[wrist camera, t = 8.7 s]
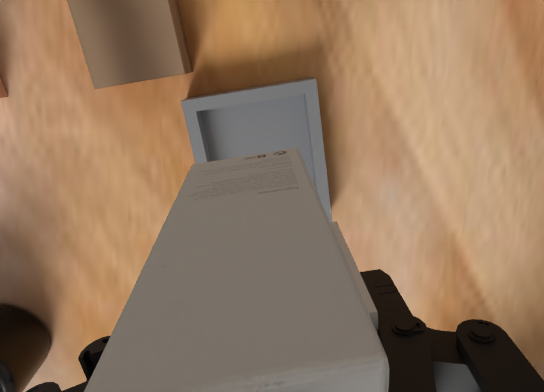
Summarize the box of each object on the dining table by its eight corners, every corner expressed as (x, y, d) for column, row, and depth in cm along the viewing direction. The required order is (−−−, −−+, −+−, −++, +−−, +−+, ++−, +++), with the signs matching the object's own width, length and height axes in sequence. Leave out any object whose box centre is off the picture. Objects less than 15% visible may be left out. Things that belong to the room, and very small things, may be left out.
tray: (312, 77, 33) (316, 78, 31) (328, 214, 37) (332, 225, 35) (186, 97, 33) (181, 101, 31) (217, 231, 38) (214, 243, 35)
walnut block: (173, -20, 30) (160, -31, 27) (193, 71, 33) (184, 73, 29) (87, -5, 31) (62, -14, 27) (113, 85, 33) (94, 89, 29)
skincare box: (191, 161, 20) (27, 401, 6) (305, 143, 20) (397, 350, 6) (224, 294, 23) (161, 661, 9) (323, 280, 23) (413, 633, 9)
